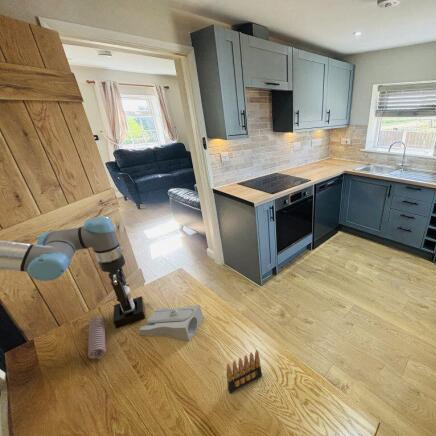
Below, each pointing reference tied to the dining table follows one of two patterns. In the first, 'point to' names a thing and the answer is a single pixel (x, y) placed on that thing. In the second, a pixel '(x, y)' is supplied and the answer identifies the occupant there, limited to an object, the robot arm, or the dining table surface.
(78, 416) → the dining table surface
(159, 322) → the wedge sharpener
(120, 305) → the sprinkles bottle
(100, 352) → the coil
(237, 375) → the ammunition clip
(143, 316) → the bottle holder
